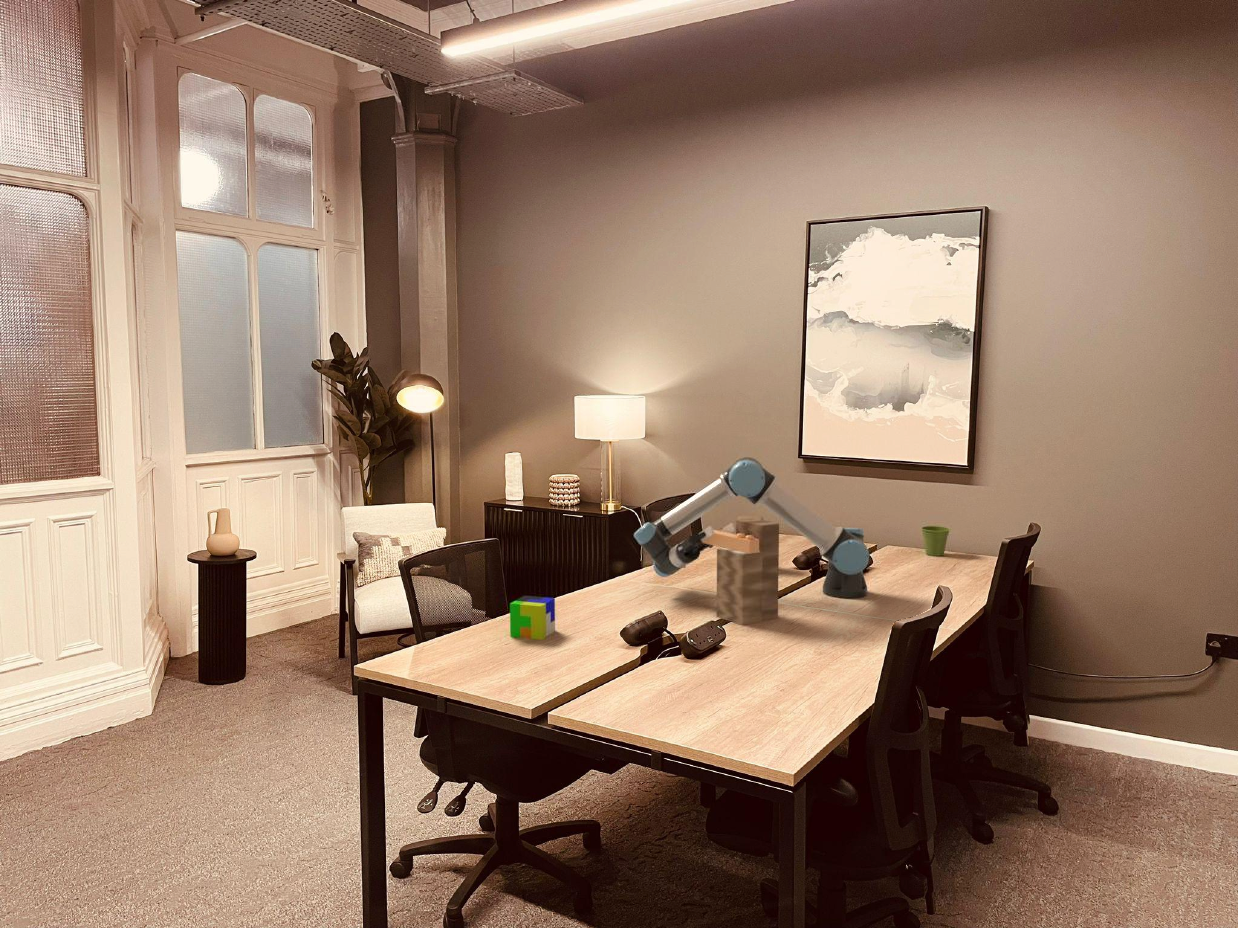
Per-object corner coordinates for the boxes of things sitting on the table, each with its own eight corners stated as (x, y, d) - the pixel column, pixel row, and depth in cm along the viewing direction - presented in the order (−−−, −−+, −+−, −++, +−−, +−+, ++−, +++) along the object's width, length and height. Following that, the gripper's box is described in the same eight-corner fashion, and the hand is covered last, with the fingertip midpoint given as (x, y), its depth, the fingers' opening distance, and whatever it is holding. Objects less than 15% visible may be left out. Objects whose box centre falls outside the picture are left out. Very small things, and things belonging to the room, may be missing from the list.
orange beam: (702, 542, 299) (702, 527, 299) (711, 541, 302) (711, 526, 301) (749, 553, 281) (749, 537, 281) (758, 552, 284) (759, 536, 283)
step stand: (716, 616, 293) (717, 522, 290) (751, 609, 301) (752, 518, 298) (742, 625, 283) (743, 528, 280) (777, 617, 291) (779, 523, 288)
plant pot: (915, 552, 393) (915, 526, 392) (941, 551, 394) (942, 525, 393) (927, 558, 381) (928, 531, 380) (954, 557, 382) (955, 530, 381)
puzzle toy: (555, 630, 278) (554, 598, 277) (541, 639, 269) (541, 606, 268) (524, 627, 281) (524, 595, 280) (510, 636, 272) (509, 603, 271)
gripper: (713, 559, 314) (752, 535, 297) (663, 567, 303) (701, 543, 285) (705, 538, 317) (744, 513, 299) (656, 546, 305) (693, 520, 288)
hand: (723, 528), depth 292 cm, fingers open, 8 cm apart
